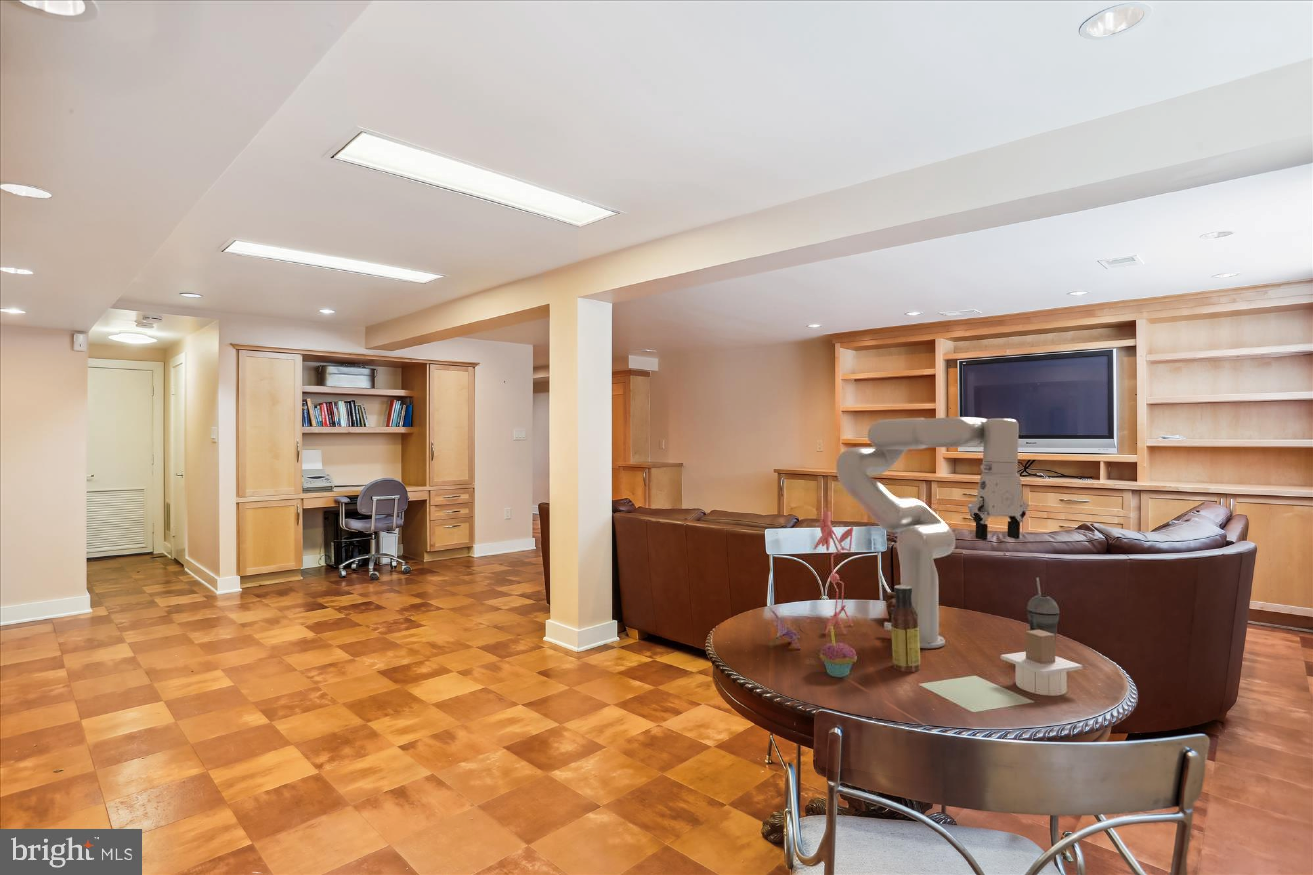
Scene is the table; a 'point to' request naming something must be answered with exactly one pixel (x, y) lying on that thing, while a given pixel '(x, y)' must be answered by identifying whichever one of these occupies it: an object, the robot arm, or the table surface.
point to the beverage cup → (1043, 613)
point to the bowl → (1041, 682)
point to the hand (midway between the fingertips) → (997, 538)
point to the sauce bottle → (905, 631)
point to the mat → (975, 693)
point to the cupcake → (837, 657)
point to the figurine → (825, 539)
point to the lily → (785, 630)
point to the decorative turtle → (890, 602)
